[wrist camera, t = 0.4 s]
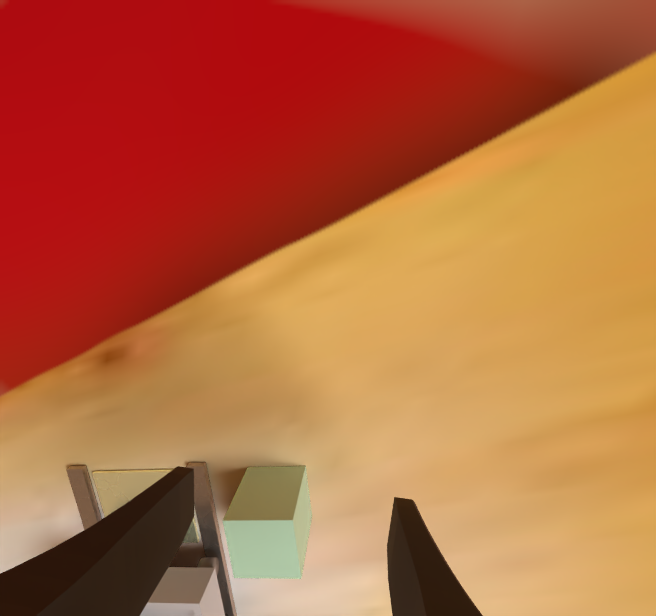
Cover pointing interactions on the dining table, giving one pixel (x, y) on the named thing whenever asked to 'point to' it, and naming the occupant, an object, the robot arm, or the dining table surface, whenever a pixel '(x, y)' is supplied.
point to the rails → (130, 483)
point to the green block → (269, 523)
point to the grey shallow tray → (188, 592)
